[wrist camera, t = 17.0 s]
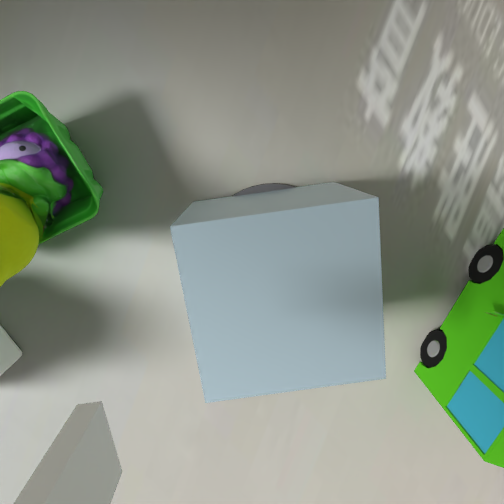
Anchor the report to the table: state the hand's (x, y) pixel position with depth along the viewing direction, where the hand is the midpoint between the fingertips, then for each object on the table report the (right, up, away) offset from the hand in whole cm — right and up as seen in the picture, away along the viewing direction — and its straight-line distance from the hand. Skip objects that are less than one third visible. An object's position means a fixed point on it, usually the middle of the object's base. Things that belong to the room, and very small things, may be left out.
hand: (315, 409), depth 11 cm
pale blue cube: (-1, +4, +16) cm, 17 cm away
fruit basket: (-17, +9, +15) cm, 24 cm away
